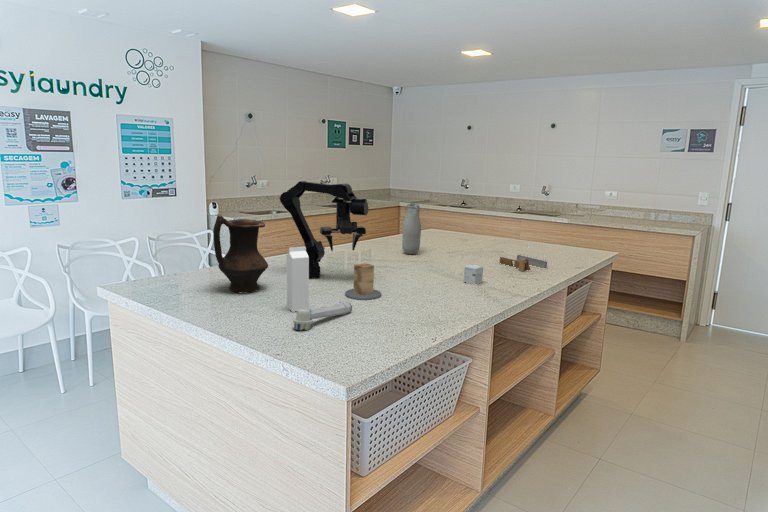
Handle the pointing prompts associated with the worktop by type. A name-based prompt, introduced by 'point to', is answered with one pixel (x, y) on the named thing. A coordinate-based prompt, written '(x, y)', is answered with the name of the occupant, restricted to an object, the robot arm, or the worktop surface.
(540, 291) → the worktop surface
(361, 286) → the tan wooden block
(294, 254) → the milk
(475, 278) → the skincare box
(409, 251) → the grey bottle
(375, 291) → the mat
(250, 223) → the jug
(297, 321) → the toothbrush head
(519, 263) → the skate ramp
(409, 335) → the worktop surface
